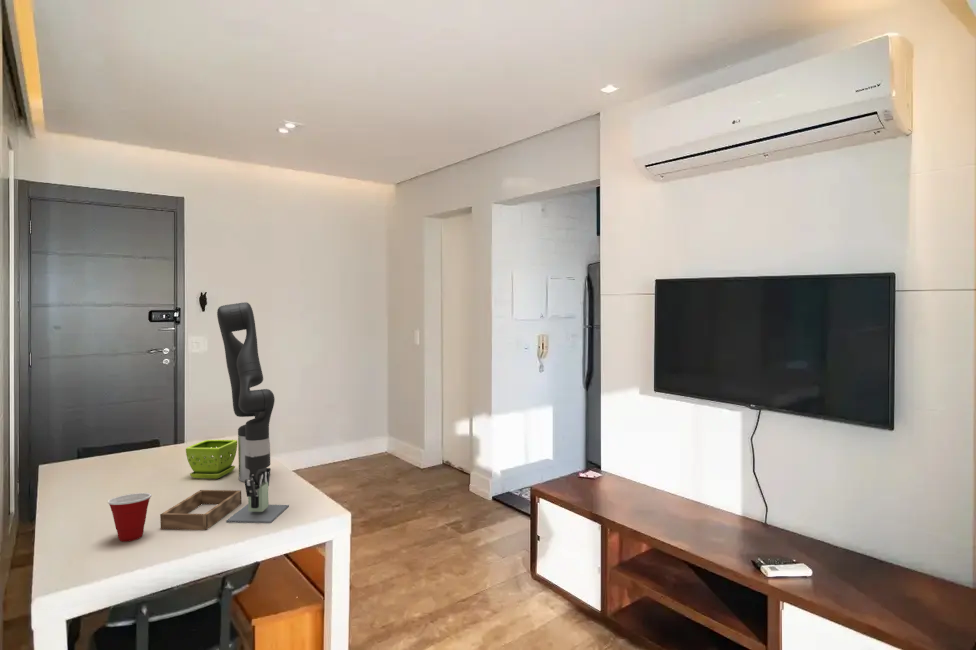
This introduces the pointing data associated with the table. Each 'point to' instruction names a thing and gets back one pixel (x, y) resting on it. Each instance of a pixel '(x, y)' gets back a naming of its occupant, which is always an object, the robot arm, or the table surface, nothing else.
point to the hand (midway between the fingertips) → (258, 504)
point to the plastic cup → (129, 515)
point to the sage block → (260, 499)
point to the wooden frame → (184, 521)
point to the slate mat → (258, 515)
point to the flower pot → (211, 458)
